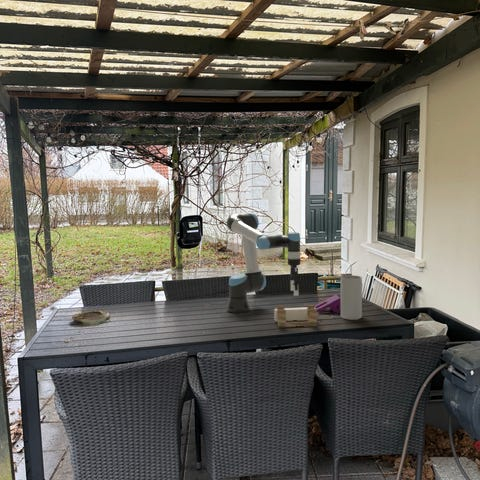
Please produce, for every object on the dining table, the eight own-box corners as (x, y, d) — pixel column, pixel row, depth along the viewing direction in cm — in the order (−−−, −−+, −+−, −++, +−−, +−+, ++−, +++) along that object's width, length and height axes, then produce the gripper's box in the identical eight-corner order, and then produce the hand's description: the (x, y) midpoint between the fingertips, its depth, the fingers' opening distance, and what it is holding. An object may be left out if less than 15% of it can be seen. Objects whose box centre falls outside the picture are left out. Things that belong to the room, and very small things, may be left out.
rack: (277, 322, 255) (277, 306, 254) (314, 321, 255) (313, 304, 254) (279, 327, 245) (278, 310, 244) (317, 326, 246) (317, 309, 245)
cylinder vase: (336, 317, 261) (336, 277, 259) (347, 313, 270) (347, 274, 268) (355, 321, 253) (355, 280, 250) (365, 316, 262) (365, 276, 259)
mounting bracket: (320, 322, 273) (345, 309, 273) (315, 310, 272) (340, 298, 272) (317, 318, 282) (341, 305, 282) (311, 307, 281) (336, 294, 281)
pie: (79, 330, 249) (78, 322, 249) (58, 322, 268) (57, 315, 267) (121, 319, 270) (120, 312, 269) (99, 313, 288) (98, 305, 288)
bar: (274, 319, 261) (274, 308, 260) (317, 317, 263) (317, 306, 262) (275, 321, 257) (275, 310, 256) (319, 319, 259) (319, 308, 258)
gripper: (303, 261, 243) (304, 297, 246) (297, 255, 268) (297, 288, 270) (290, 261, 243) (291, 297, 245) (285, 255, 268) (285, 288, 270)
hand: (294, 293), depth 258 cm, fingers open, 13 cm apart
